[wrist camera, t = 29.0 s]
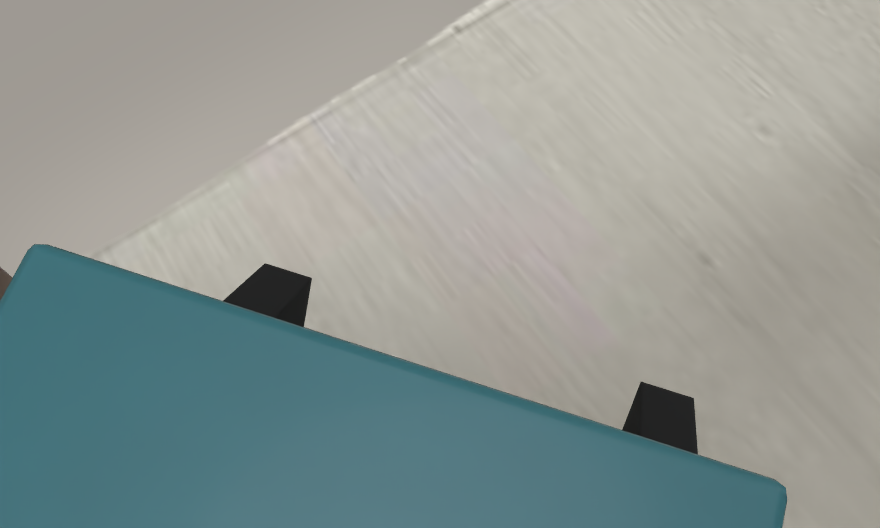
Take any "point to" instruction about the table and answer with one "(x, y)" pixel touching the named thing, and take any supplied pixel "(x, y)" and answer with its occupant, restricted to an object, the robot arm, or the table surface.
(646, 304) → the table surface
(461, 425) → the block
